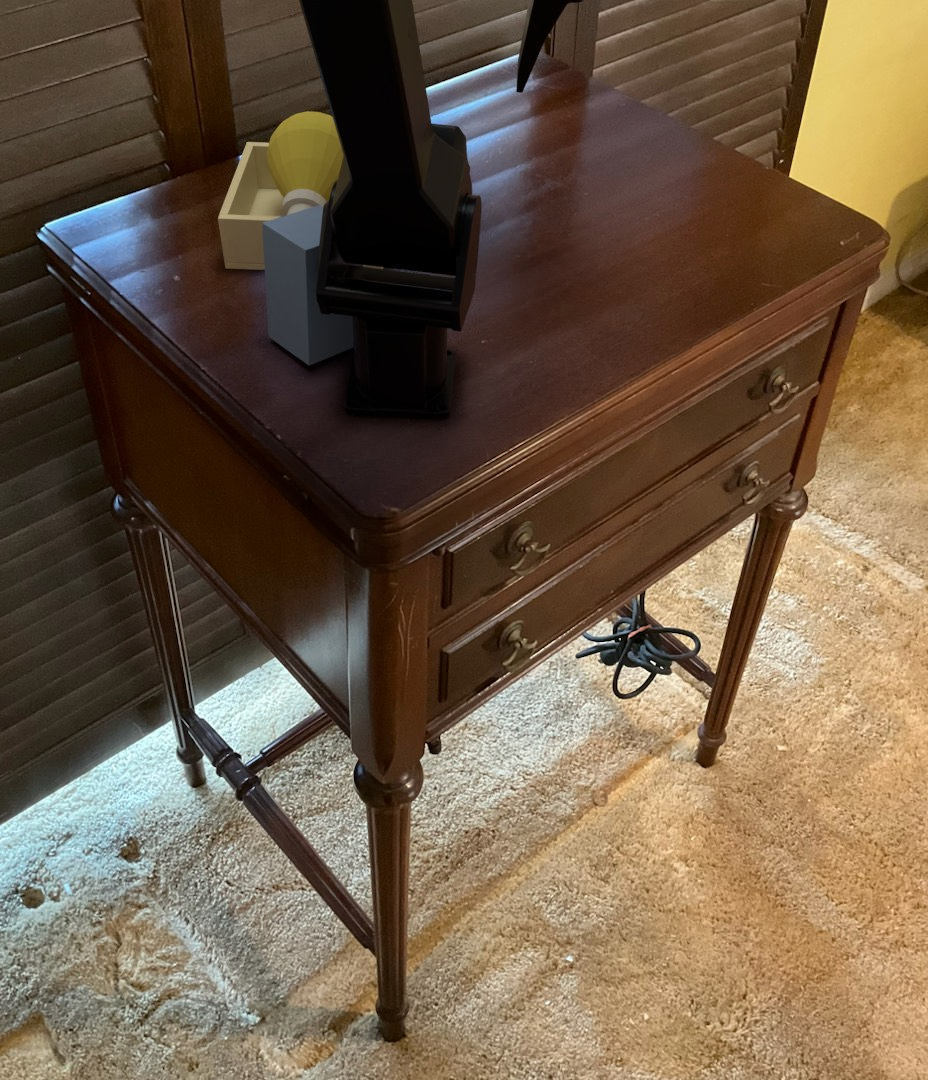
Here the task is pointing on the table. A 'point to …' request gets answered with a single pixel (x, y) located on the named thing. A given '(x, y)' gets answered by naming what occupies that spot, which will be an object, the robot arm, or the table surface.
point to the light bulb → (305, 160)
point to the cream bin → (249, 210)
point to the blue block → (300, 289)
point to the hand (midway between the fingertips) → (447, 87)
